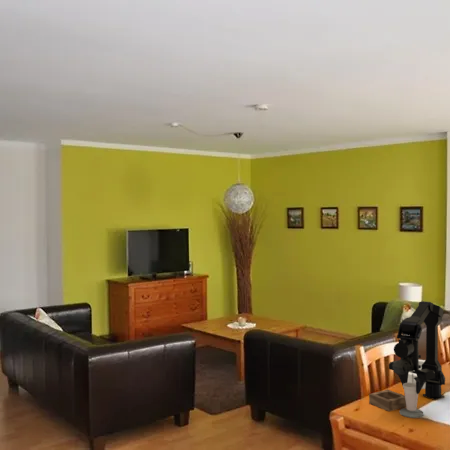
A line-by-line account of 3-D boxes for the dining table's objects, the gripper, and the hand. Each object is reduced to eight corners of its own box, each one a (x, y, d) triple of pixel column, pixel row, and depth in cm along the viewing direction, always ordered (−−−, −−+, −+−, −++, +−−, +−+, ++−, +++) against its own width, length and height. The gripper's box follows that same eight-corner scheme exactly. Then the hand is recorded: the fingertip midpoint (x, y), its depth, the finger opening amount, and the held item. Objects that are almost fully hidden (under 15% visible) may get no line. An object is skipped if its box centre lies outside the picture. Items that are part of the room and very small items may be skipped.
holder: (388, 398, 232) (387, 389, 232) (408, 406, 222) (408, 396, 222) (369, 403, 226) (369, 394, 226) (389, 411, 217) (389, 401, 217)
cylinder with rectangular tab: (405, 387, 247) (405, 361, 247) (408, 382, 255) (408, 356, 255) (426, 390, 243) (425, 363, 242) (428, 384, 251) (428, 358, 250)
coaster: (410, 408, 220) (410, 406, 220) (428, 415, 212) (428, 413, 212) (394, 412, 216) (394, 410, 216) (412, 419, 208) (412, 417, 208)
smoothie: (418, 413, 209) (417, 377, 209) (401, 410, 213) (400, 374, 213) (421, 407, 215) (421, 373, 215) (405, 405, 218) (404, 370, 218)
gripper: (378, 350, 218) (379, 388, 218) (415, 360, 201) (416, 402, 202) (398, 346, 223) (398, 384, 223) (435, 356, 207) (436, 396, 207)
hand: (411, 391), depth 214 cm, fingers closed on smoothie, 6 cm apart
